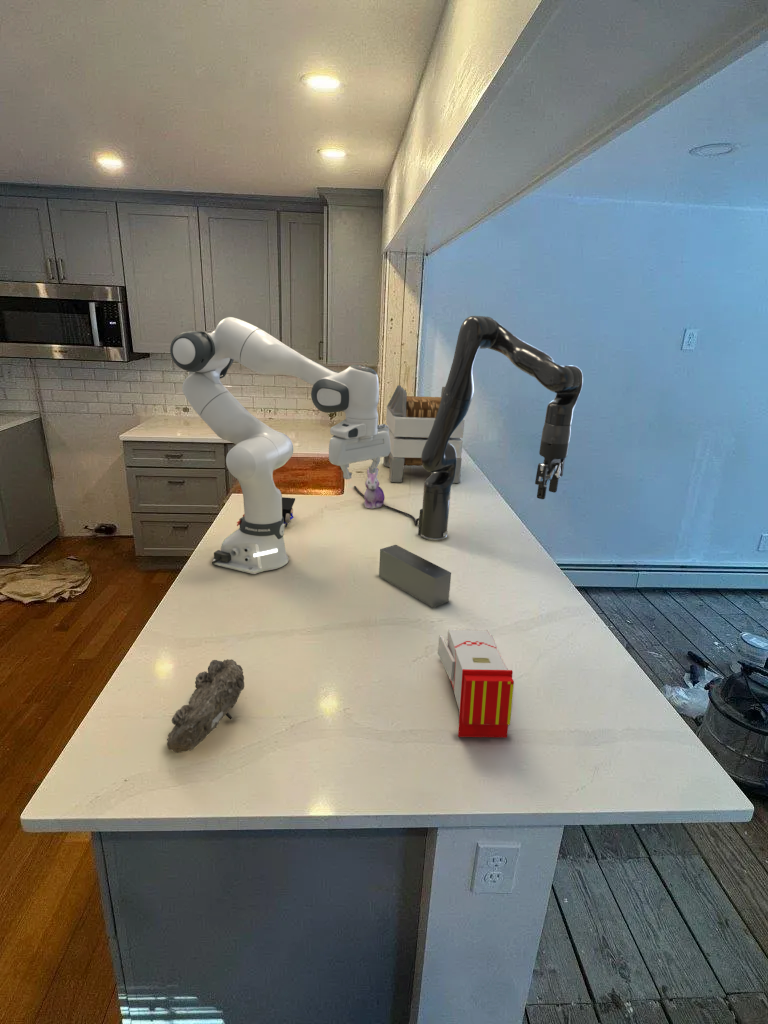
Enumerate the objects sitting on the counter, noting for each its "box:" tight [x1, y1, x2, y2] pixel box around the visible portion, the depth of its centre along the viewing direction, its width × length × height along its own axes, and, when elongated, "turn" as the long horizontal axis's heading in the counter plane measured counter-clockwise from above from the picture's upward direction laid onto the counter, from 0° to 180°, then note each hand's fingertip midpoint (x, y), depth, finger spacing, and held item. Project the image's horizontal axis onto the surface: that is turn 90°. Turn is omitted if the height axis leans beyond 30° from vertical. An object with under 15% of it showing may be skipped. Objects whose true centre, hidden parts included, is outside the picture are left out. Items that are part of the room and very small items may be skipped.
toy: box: [437, 628, 515, 738], centre depth 117 cm, size 12×13×30 cm
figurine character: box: [282, 496, 296, 528], centre depth 204 cm, size 7×8×15 cm
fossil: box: [166, 658, 245, 754], centre depth 106 cm, size 22×10×15 cm
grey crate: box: [383, 384, 465, 484], centre depth 268 cm, size 34×33×41 cm
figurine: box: [363, 467, 385, 509], centre depth 225 cm, size 9×10×15 cm
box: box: [378, 544, 452, 609], centre depth 160 cm, size 23×6×9 cm, turn 40°
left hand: (360, 475), depth 159 cm, fingers open, 8 cm apart
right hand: (546, 495), depth 162 cm, fingers open, 8 cm apart
